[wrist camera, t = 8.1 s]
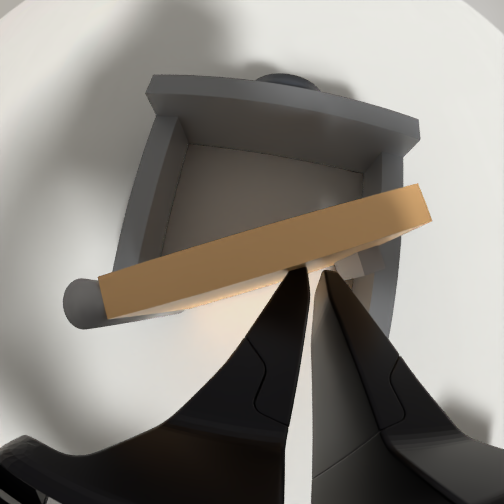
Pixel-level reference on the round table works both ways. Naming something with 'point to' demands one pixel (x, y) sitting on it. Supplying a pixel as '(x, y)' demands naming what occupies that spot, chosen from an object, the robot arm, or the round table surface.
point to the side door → (249, 260)
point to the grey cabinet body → (268, 142)
